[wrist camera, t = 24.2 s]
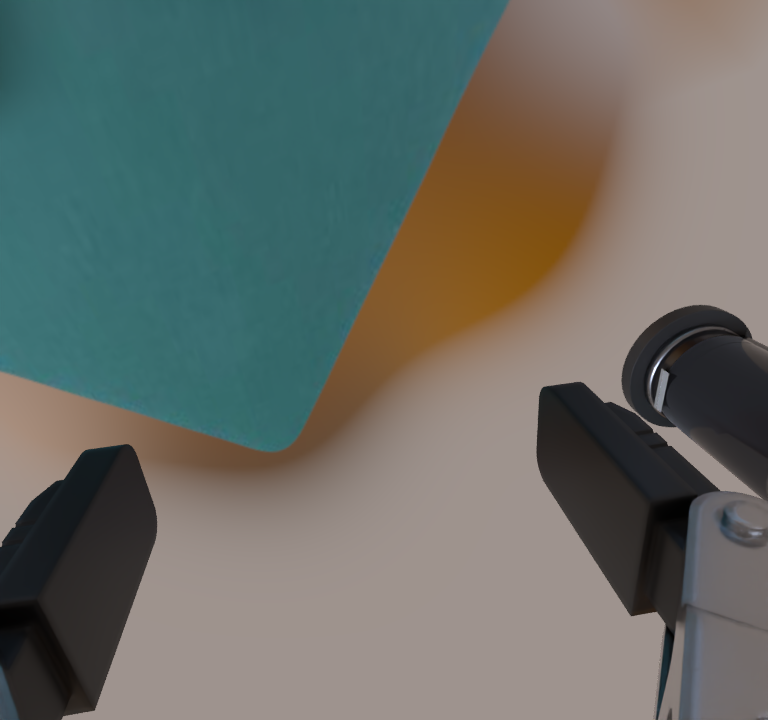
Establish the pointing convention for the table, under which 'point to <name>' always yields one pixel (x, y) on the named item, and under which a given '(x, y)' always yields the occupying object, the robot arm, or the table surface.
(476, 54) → the table surface
